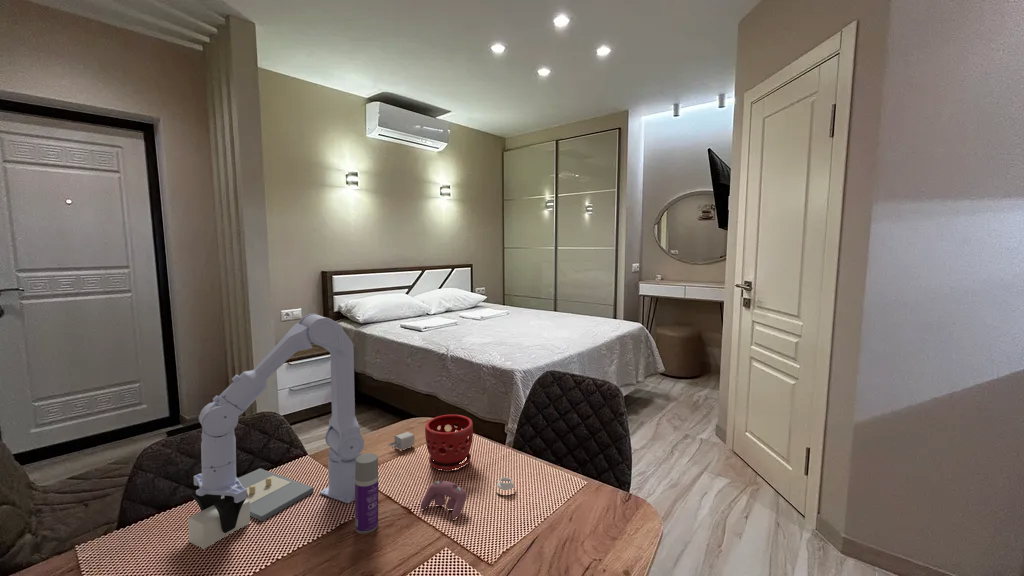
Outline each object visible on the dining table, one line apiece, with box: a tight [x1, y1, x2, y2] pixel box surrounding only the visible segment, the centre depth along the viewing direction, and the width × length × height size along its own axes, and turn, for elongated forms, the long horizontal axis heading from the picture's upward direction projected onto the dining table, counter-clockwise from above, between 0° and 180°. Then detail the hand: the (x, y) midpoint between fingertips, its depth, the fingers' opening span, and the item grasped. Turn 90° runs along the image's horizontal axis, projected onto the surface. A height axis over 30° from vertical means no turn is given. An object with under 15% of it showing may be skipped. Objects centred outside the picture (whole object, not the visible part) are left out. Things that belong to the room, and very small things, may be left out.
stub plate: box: [221, 467, 314, 522], centre depth 99 cm, size 20×13×3 cm, turn 65°
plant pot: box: [424, 414, 474, 470], centre depth 116 cm, size 13×13×12 cm
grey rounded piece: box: [496, 476, 515, 490], centre depth 103 cm, size 5×3×5 cm
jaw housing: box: [187, 500, 251, 550], centre depth 86 cm, size 5×9×5 cm, turn 155°
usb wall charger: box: [387, 431, 415, 450], centre depth 125 cm, size 4×7×4 cm, turn 136°
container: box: [354, 452, 379, 534], centre depth 88 cm, size 5×5×15 cm
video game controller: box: [420, 480, 468, 520], centre depth 95 cm, size 10×5×7 cm, turn 65°
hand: (220, 525), depth 86 cm, fingers open, 5 cm apart
